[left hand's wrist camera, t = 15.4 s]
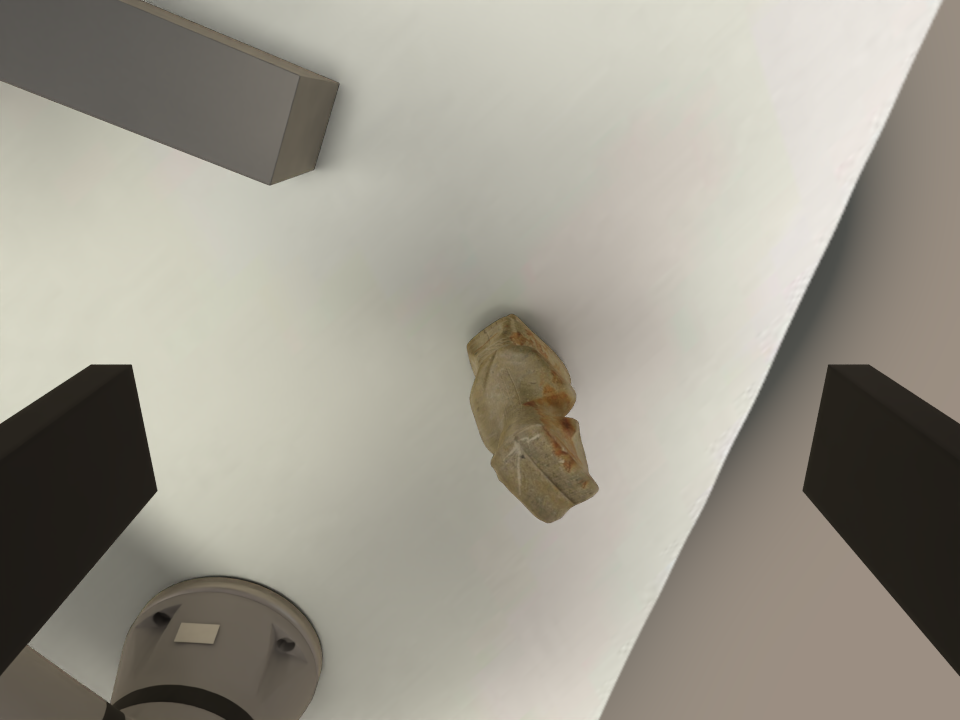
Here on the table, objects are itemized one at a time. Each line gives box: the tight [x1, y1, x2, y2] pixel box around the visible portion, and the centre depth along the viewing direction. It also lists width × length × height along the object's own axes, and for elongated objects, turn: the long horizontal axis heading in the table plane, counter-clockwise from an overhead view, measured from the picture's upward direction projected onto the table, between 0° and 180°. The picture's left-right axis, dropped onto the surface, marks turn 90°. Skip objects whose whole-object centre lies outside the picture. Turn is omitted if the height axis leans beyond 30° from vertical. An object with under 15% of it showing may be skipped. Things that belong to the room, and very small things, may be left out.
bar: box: [0, 0, 339, 185], centre depth 34 cm, size 22×5×9 cm, turn 68°
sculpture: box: [467, 314, 599, 523], centre depth 37 cm, size 6×7×15 cm
